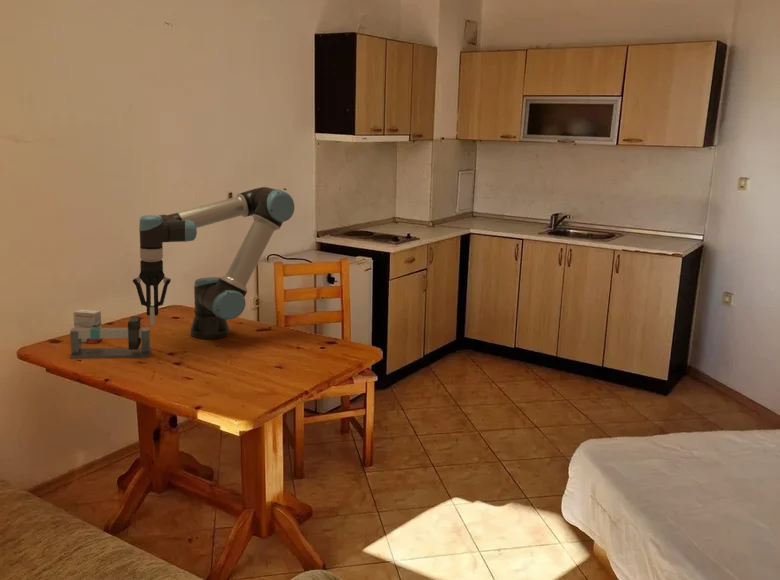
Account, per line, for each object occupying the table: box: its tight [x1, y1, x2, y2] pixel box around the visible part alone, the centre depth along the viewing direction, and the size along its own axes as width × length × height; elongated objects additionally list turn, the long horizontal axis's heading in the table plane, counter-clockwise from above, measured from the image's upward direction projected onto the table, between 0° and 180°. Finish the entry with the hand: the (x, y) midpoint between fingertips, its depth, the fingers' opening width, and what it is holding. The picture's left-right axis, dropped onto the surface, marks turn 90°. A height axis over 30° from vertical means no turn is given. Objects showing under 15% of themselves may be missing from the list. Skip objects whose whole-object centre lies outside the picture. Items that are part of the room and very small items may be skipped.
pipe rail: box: [69, 327, 152, 359], centre depth 244 cm, size 26×8×10 cm, turn 102°
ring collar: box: [127, 315, 142, 350], centre depth 245 cm, size 3×8×10 cm, turn 11°
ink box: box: [73, 308, 103, 344], centre depth 257 cm, size 9×5×12 cm, turn 84°
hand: (152, 323), depth 246 cm, fingers closed
